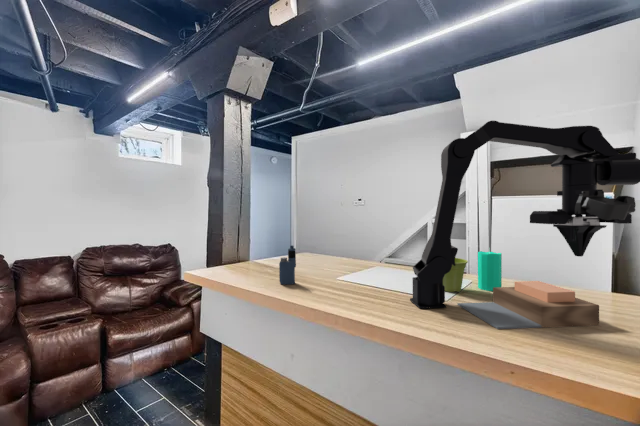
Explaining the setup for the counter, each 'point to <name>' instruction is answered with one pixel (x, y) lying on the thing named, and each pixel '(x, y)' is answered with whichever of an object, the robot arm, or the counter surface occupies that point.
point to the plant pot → (455, 276)
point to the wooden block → (547, 309)
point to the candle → (489, 270)
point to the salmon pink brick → (545, 291)
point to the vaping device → (288, 267)
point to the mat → (498, 315)
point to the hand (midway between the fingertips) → (578, 256)
